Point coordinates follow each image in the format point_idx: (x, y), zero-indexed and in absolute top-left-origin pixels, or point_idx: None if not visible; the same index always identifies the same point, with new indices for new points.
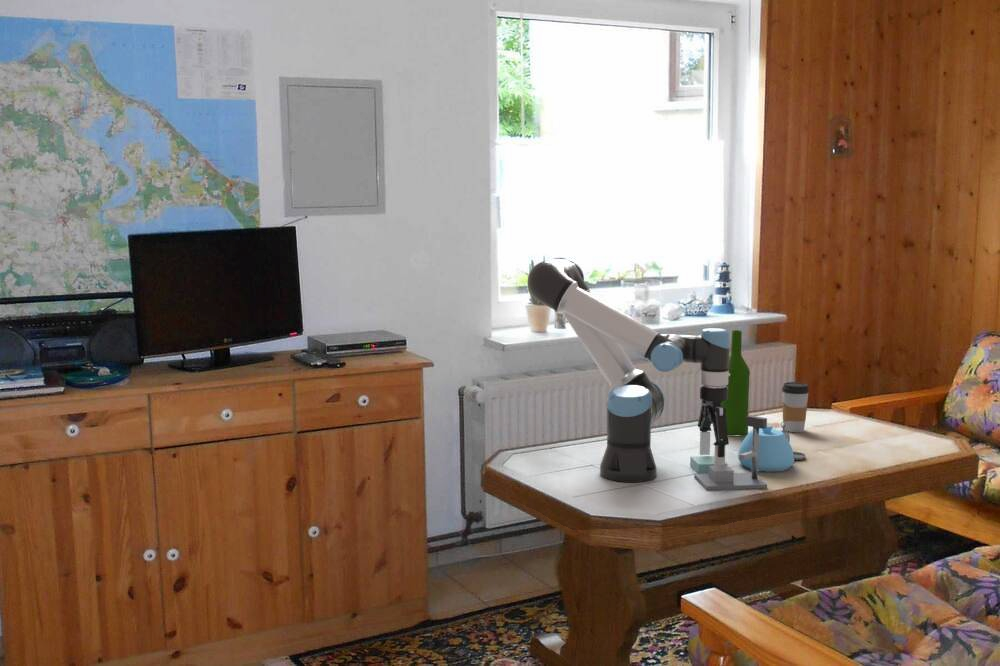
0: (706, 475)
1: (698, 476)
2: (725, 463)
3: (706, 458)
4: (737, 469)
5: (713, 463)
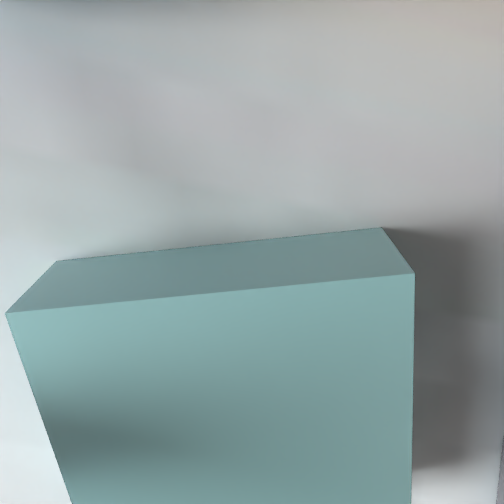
0: None
1: None
2: (392, 295)
3: (158, 461)
4: (228, 68)
5: (385, 429)
